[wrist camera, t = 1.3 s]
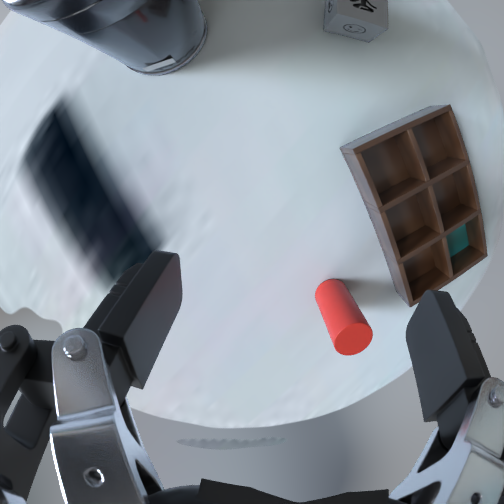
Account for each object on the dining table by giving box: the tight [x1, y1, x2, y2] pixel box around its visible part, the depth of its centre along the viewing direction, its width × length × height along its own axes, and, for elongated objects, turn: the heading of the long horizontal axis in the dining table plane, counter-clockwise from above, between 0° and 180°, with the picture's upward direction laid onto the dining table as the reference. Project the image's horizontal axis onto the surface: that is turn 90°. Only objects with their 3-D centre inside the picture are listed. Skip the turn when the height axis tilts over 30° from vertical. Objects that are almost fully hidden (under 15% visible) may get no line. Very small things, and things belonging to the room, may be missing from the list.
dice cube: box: [324, 0, 388, 42], centre depth 20 cm, size 5×5×5 cm
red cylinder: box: [315, 279, 373, 355], centre depth 29 cm, size 4×4×9 cm
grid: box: [340, 104, 488, 307], centre depth 28 cm, size 19×13×4 cm
